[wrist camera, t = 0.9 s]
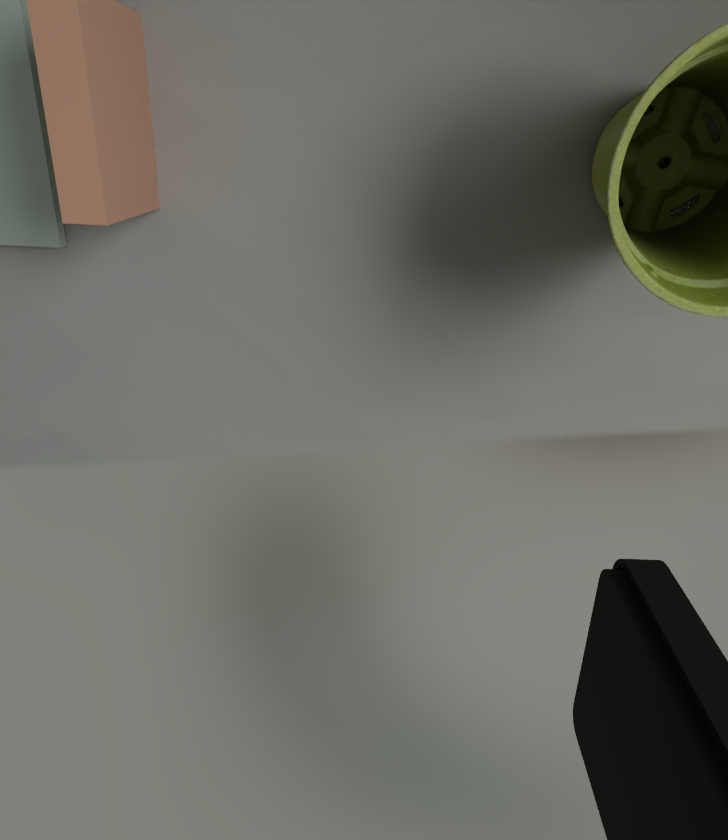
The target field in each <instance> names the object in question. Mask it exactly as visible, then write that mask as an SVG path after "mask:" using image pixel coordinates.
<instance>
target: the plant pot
mask: <svg viewBox="0 0 728 840" xmlns="http://www.w3.org/2000/svg"><path fill="white" fill-rule="evenodd" d="M649 105H651V106H653V110H652V111H651V112H649V113H647V114H645V115H644V116H643V114H644V112H645V111H646V109H647V108H648V106H649ZM703 115H708V116H710V118H711V119H712V120H714V122H715V123H716V125H717V126H718V130H719V141H718V142H716V143H713V142H712V140H711V135H710V133H709V129H708V127H707V125H706V124H705V120H704V119H703ZM663 157H669V159H670V164H669V165H668V167H666V168H663V169H661V168H660V167H659V166H658V162H659V160H660V159H662V158H663ZM591 175H592V185H593V190H594V194H595V197H596V199H597V201H598V203H599V205H600V207H601V208H602V210H603V211H604V213H605V214H606V215H607V216H608V221H609V226H610V231H611V235H612V238H613V241H614V244H615V246H616V249H617V251H618V253H619V255H620V257H621V258H622V260H623V262H624V264H625V265H626V266H627V268H628V269H629V270H630V272H631V273H632V274H633V275H634V277H635V278H636V279H637V280H638V281H639V282H640V283H641V284H642V285H643V286H644V287H646V288H647V289H648V290H649V291H650V292H651V293H653V294H654V295H655V296H657V297H658V298H660V299H661V300H663V301H665V302H667V303H668V304H670V305H673V306H675V307H677V308H679V309H682V310H685V311H688V312H692V313H697V314H701V315H706V316H716V317H728V23H727V24H725V25H723V26H721V27H719V28H717V29H715V30H714V31H712V32H710V33H709V34H707V35H705V36H704V37H702V38H701V39H699V40H698V41H696V42H695V43H693V44H692V45H691V46H689V47H688V48H687V49H686V50H684V51H683V52H682V53H681V54H680V55H678V56H677V57H676V58H675V59H674V60H673V61H672V62H671V63H669V64H668V65H667V66H666V67H665V68H664V69H663V70H662V71H661V72H660V73H659V75H658V76H657V77H656V78H655V79H654V81H653V82H652V83H651V84H650V85H649V87H648V88H647V89H646V90H645V92H644V93H643V94H641V95H639V96H637V97H636V98H634V99H633V100H631V101H630V102H629V103H627V104H626V105H625V106H624V107H623V108H622V109H621V110H620V111H618V113H617V114H616V115H615V116H614V117H613V118H612V119H611V121H610V122H609V123H608V125H607V126H606V128H605V129H604V131H603V133H602V135H601V137H600V140H599V142H598V145H597V148H596V151H595V155H594V159H593V163H592V171H591ZM695 195H698V196H699V197H698V201H697V202H696V203H695V204H694V205H693V206H691V207H690V208H689V209H687V210H686V211H684V212H683V213H681V214H679V215H671V213H670V212H671V210H673V209H675V208H677V207H679V206H681V205H683V204H685V203H686V202H687V201H689V200H691V198H693V197H694V196H695ZM618 197H619V198H620V199H621V200H622V202H623V206H622V207H619V201H618Z"/></svg>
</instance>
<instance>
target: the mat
mask: <svg viewBox="0 0 728 840" xmlns="http://www.w3.org/2000/svg"><path fill="white" fill-rule="evenodd" d="M0 245H12V246H31V247H51V248H62V247H65V246H67V244H66V238H65V231H64V225H63V223H62V217H61V211H60V205H59V198H58V192H57V186H56V180H55V174H54V168H53V162H52V155H51V149H50V143H49V137H48V131H47V125H46V118H45V112H44V106H43V100H42V94H41V88H40V81H39V75H38V69H37V63H36V57H35V51H34V45H33V38H32V32H31V26H30V20H29V14H28V8H27V1H26V0H0Z"/></svg>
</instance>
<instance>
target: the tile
mask: <svg viewBox="0 0 728 840" xmlns="http://www.w3.org/2000/svg"><path fill="white" fill-rule="evenodd" d="M26 1H27V8H28V14H29V20H30V26H31V32H32V38H33V45H34V51H35V57H36V63H37V69H38V75H39V81H40V88H41V94H42V100H43V106H44V112H45V118H46V125H47V131H48V137H49V143H50V149H51V155H52V162H53V168H54V174H55V180H56V186H57V192H58V198H59V205H60V211H61V217H62V223H65V224H85V225H105V226H107V225H110V224H114V223H117V222H120V221H123V220H126V219H129V218H132V217H135V216H138V215H141V214H145V213H148V212H151V211H154V210H157V209H160V203H159V193H158V183H157V172H156V162H155V152H154V141H153V131H152V121H151V111H150V100H149V90H148V80H147V69H146V59H145V49H144V38H143V28H142V18H141V12H139V11H136V10H134V9H132V8H130V7H128V6H125V5H123V4H121V3H119V2H117V1H114V0H26Z"/></svg>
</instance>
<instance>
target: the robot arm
mask: <svg viewBox="0 0 728 840" xmlns="http://www.w3.org/2000/svg"><path fill="white" fill-rule="evenodd" d="M573 722H574V729H575V733H576V736H577V740H578V743H579V747H580V750H581V754H582V757H583V760H584V763H585V767H586V770H587V773H588V777H589V780H590V783H591V787H592V790H593V793H594V797H595V800H596V803H597V807H598V810H599V813H600V817H601V820H602V823H603V827H604V830H605V833H606V837H607V840H728V661H727V660H726V658H725V656H724V655H723V654H722V652H721V650H720V649H719V647H718V646H717V644H716V642H715V641H714V639H713V637H712V636H711V635H710V633H709V631H708V630H707V628H706V626H705V625H704V623H703V622H702V620H701V618H700V617H699V615H698V614H697V612H696V611H695V609H694V608H693V606H692V604H691V603H690V601H689V599H688V598H687V596H686V595H685V593H684V592H683V590H682V588H681V587H680V585H679V584H678V582H677V580H676V579H675V577H674V576H673V574H672V573H671V571H670V569H669V568H668V566H667V565H666V564H665V563H664V562H663V561H660V560H639V559H619V560H617V561H616V562H615V564H614V566H613V569H605V570H603V571H602V572H601V574H600V578H599V582H598V587H597V592H596V597H595V602H594V607H593V612H592V617H591V622H590V626H589V631H588V637H587V641H586V646H585V651H584V656H583V662H582V666H581V671H580V676H579V681H578V685H577V690H576V695H575V700H574V706H573Z"/></svg>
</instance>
